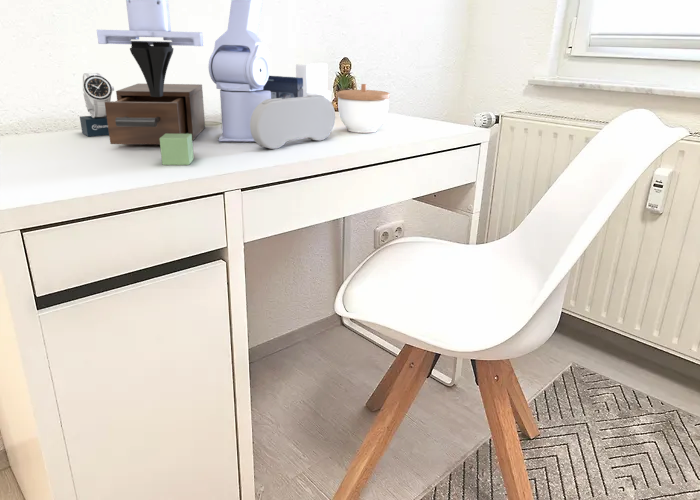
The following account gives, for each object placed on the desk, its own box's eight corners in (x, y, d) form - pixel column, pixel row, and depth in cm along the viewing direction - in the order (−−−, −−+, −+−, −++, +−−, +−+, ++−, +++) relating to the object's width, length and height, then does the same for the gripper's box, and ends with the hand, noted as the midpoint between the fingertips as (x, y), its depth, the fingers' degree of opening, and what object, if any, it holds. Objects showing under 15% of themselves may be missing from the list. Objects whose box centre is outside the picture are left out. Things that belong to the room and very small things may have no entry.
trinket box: (328, 132, 112) (329, 84, 108) (348, 124, 121) (349, 80, 118) (378, 136, 108) (380, 87, 105) (394, 129, 117) (396, 83, 114)
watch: (90, 138, 100) (81, 75, 96) (79, 131, 106) (70, 72, 101) (122, 135, 103) (114, 74, 99) (110, 129, 109) (102, 71, 105)
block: (193, 159, 86) (191, 133, 84) (189, 165, 82) (187, 138, 81) (167, 159, 86) (165, 133, 84) (162, 164, 82) (159, 138, 80)
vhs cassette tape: (228, 119, 124) (225, 73, 120) (236, 118, 127) (233, 73, 123) (297, 127, 117) (296, 78, 113) (304, 125, 119) (304, 77, 116)
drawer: (175, 150, 88) (171, 106, 85) (101, 149, 87) (95, 105, 84) (194, 130, 104) (191, 94, 102) (132, 130, 103) (127, 93, 101)
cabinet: (193, 140, 100) (189, 92, 97) (122, 140, 99) (115, 90, 96) (205, 127, 114) (202, 84, 110) (142, 126, 112) (137, 83, 109)
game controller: (326, 136, 107) (327, 92, 104) (335, 138, 106) (336, 93, 103) (249, 150, 93) (247, 100, 90) (258, 152, 92) (256, 101, 89)
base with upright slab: (317, 120, 126) (317, 65, 121) (285, 117, 130) (284, 63, 125) (337, 116, 133) (338, 64, 128) (307, 113, 137) (307, 62, 133)
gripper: (83, -6, 73) (98, 98, 78) (193, -3, 75) (201, 100, 80) (101, -3, 80) (114, 93, 85) (202, 0, 81) (208, 94, 86)
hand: (157, 96), depth 83 cm, fingers closed
